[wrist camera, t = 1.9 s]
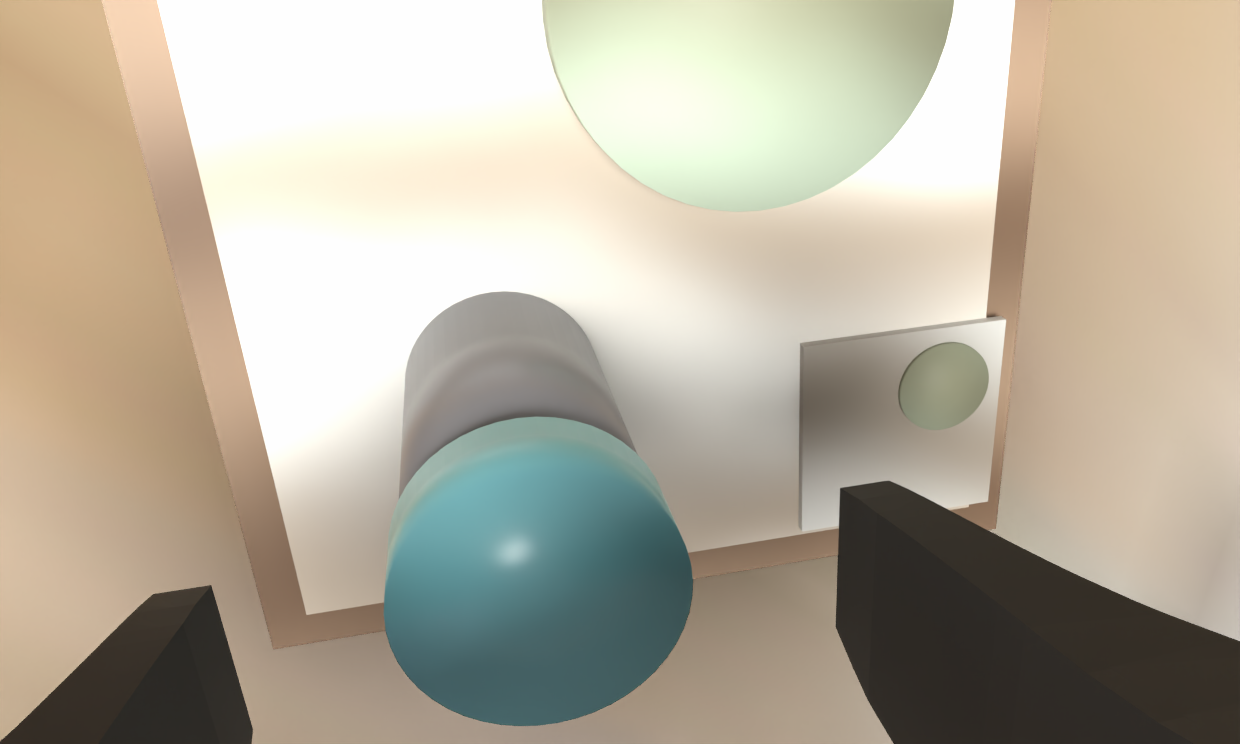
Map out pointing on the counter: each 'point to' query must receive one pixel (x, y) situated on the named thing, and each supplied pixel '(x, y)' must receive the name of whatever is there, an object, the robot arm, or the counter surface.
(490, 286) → the board
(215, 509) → the counter surface
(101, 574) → the counter surface
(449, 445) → the marker
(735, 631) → the counter surface
